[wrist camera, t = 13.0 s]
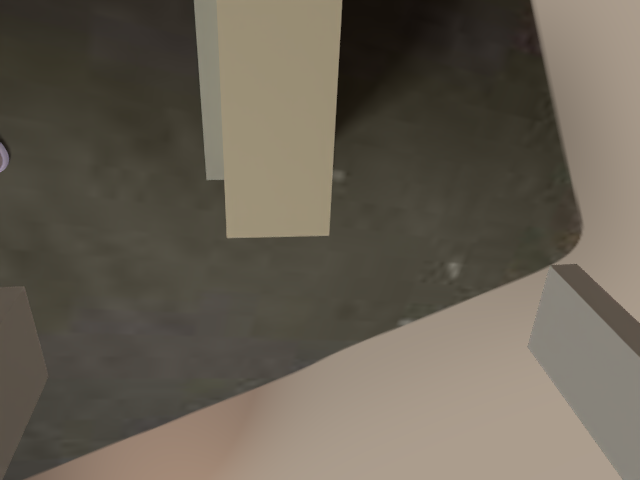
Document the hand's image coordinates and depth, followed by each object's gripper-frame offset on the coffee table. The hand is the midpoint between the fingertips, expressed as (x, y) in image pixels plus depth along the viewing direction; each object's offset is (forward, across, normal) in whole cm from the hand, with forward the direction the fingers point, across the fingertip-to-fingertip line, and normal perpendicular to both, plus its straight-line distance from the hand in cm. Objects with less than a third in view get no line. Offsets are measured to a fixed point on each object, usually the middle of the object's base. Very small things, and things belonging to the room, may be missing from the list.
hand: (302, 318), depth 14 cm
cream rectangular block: (+22, 0, +4) cm, 23 cm away
